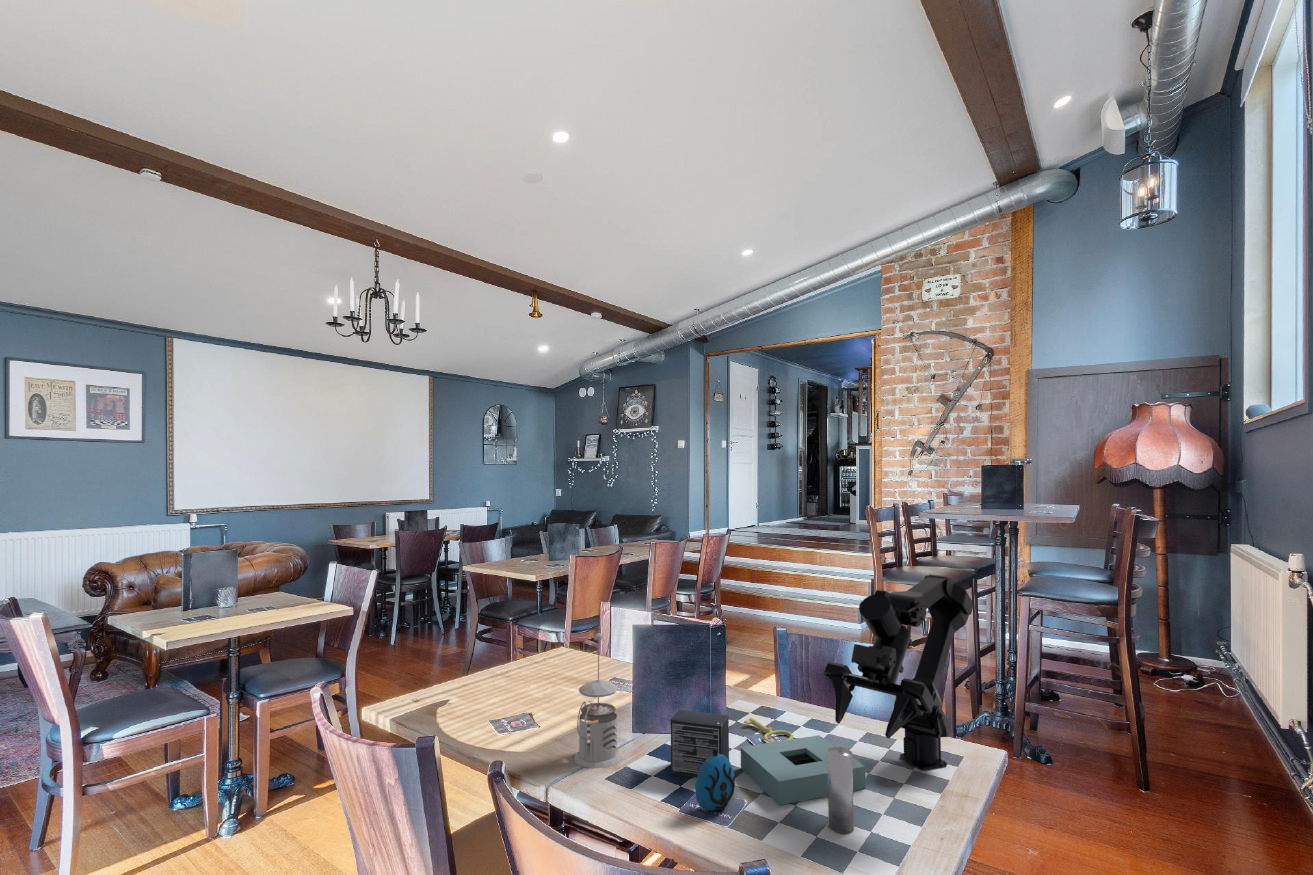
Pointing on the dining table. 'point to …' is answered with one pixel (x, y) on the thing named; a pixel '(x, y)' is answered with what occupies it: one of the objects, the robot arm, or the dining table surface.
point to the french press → (597, 725)
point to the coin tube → (840, 790)
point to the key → (768, 730)
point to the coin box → (794, 769)
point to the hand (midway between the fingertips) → (861, 729)
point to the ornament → (715, 782)
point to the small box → (696, 740)
